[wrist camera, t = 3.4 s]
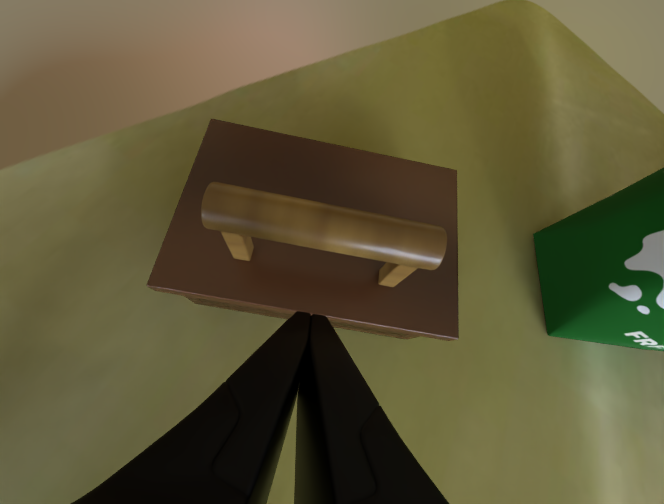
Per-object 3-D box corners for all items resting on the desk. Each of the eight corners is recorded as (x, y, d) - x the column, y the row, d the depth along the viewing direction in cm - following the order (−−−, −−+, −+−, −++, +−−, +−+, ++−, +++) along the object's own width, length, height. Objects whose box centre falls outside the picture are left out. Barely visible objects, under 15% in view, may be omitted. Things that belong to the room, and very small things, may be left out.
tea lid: (449, 341, 13) (543, 324, 8) (154, 290, 12) (66, 240, 7) (449, 178, 16) (517, 98, 11) (214, 130, 15) (180, 20, 11)
